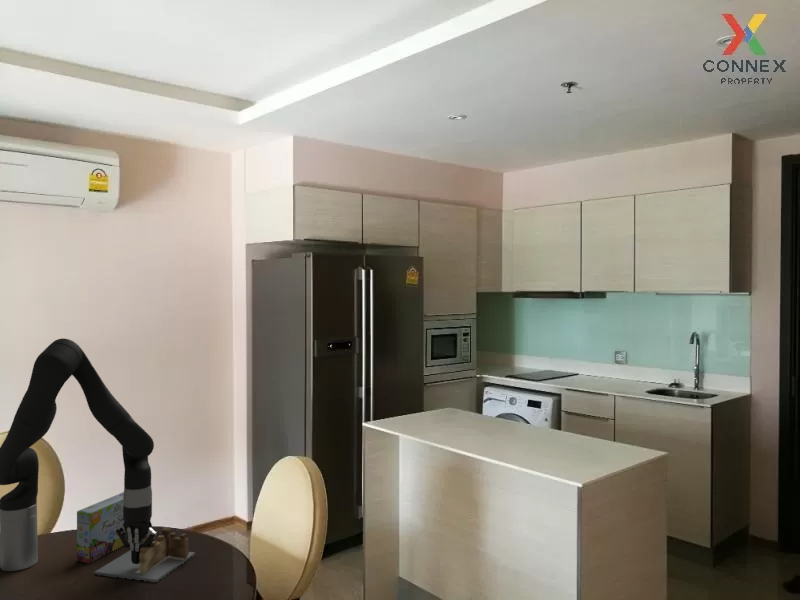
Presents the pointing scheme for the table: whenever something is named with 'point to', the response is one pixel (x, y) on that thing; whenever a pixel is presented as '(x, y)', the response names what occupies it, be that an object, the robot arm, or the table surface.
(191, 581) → the table surface
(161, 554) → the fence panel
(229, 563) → the table surface
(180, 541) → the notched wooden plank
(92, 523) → the snack box
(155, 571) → the board
